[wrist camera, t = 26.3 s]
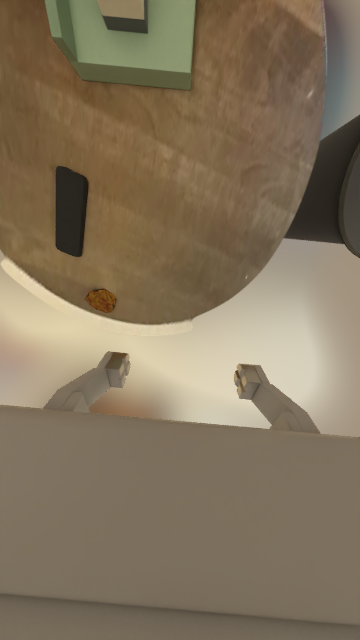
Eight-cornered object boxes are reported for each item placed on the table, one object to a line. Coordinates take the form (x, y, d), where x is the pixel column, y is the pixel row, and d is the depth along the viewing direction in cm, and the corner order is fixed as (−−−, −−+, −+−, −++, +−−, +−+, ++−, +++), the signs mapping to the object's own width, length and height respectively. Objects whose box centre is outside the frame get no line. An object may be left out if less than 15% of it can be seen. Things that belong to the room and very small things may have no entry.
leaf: (107, 315, 43) (106, 318, 42) (84, 300, 40) (81, 303, 39) (121, 299, 41) (119, 302, 40) (97, 282, 39) (94, 284, 37)
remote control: (83, 257, 36) (88, 178, 28) (78, 259, 35) (83, 176, 27) (61, 248, 35) (60, 164, 28) (55, 249, 34) (53, 161, 26)
